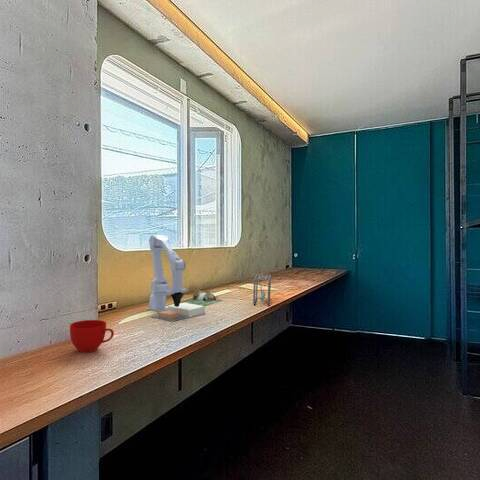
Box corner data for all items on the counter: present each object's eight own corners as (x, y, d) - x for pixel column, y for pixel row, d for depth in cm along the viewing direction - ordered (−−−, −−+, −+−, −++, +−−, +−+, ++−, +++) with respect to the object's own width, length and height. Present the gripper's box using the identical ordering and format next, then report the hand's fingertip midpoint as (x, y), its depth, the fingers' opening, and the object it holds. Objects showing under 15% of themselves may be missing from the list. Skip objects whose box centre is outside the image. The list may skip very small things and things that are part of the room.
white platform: (167, 313, 208) (167, 306, 208) (183, 309, 220) (183, 302, 220) (188, 317, 200) (189, 310, 200) (204, 313, 212) (205, 306, 211)
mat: (150, 317, 198) (150, 316, 198) (166, 313, 208) (166, 312, 208) (173, 321, 189) (173, 320, 189) (188, 317, 199) (188, 316, 199)
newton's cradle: (269, 306, 237) (270, 279, 237) (253, 305, 238) (253, 278, 238) (270, 298, 267) (270, 274, 266) (255, 297, 268) (256, 273, 267)
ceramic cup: (103, 357, 133) (104, 330, 133) (61, 353, 136) (62, 326, 136) (121, 347, 146) (121, 322, 146) (82, 343, 149) (83, 318, 149)
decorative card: (201, 286, 265) (226, 289, 256) (201, 297, 265) (225, 300, 256) (174, 292, 236) (200, 296, 227) (173, 304, 236) (200, 308, 227)
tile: (167, 310, 203) (167, 314, 203) (158, 312, 197) (158, 316, 197) (179, 312, 198) (179, 317, 198) (170, 314, 192) (170, 319, 192)
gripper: (173, 283, 194) (173, 309, 195) (191, 281, 207) (190, 305, 207) (164, 282, 198) (163, 307, 198) (182, 280, 210) (181, 303, 211)
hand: (176, 306), depth 203 cm, fingers closed
